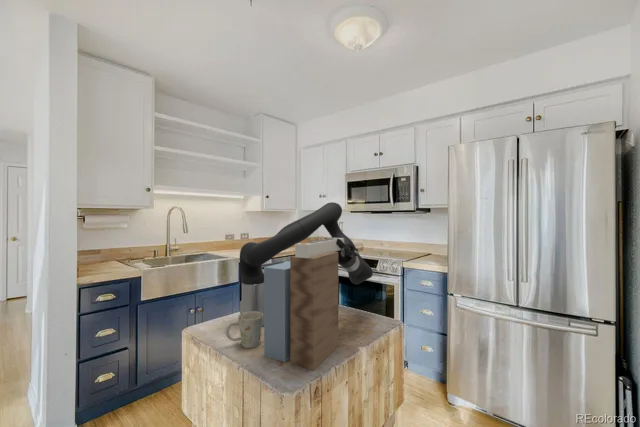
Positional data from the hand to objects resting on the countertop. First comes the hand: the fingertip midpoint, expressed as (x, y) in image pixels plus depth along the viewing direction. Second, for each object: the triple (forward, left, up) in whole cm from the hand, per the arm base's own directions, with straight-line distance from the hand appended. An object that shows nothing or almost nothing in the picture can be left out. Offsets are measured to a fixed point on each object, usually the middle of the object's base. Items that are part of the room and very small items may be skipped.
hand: (331, 240), depth 103 cm
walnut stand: (0, -11, -35) cm, 37 cm away
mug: (-25, -17, -36) cm, 47 cm away
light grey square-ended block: (0, -7, -3) cm, 8 cm away
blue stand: (-10, -11, -35) cm, 38 cm away
